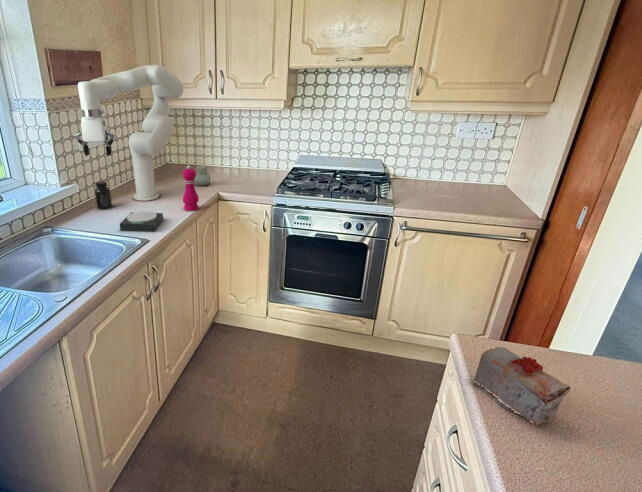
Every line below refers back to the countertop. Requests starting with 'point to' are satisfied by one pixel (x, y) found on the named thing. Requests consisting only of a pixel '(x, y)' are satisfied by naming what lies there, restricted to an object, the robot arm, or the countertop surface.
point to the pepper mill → (190, 190)
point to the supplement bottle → (103, 195)
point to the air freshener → (202, 176)
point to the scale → (141, 221)
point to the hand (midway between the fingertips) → (98, 155)
